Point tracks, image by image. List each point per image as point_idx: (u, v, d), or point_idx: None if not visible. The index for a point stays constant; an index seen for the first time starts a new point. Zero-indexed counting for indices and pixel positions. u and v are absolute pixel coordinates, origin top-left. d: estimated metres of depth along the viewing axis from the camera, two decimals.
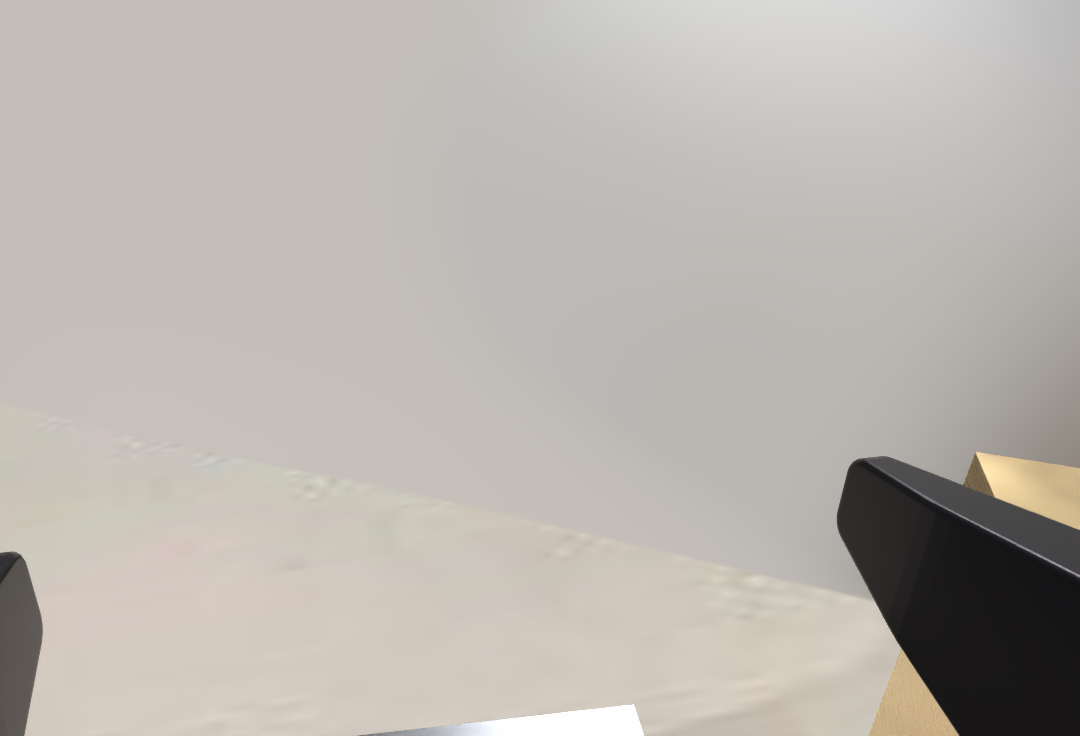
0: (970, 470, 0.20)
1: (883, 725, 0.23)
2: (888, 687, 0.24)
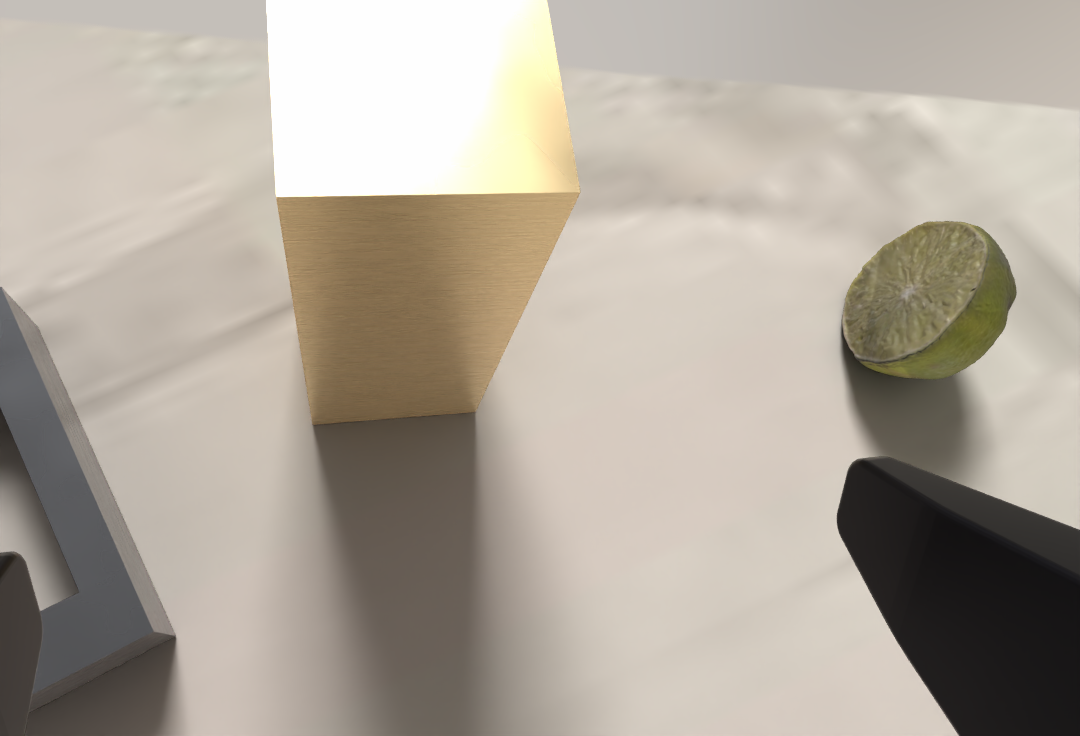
0: None
1: None
2: None
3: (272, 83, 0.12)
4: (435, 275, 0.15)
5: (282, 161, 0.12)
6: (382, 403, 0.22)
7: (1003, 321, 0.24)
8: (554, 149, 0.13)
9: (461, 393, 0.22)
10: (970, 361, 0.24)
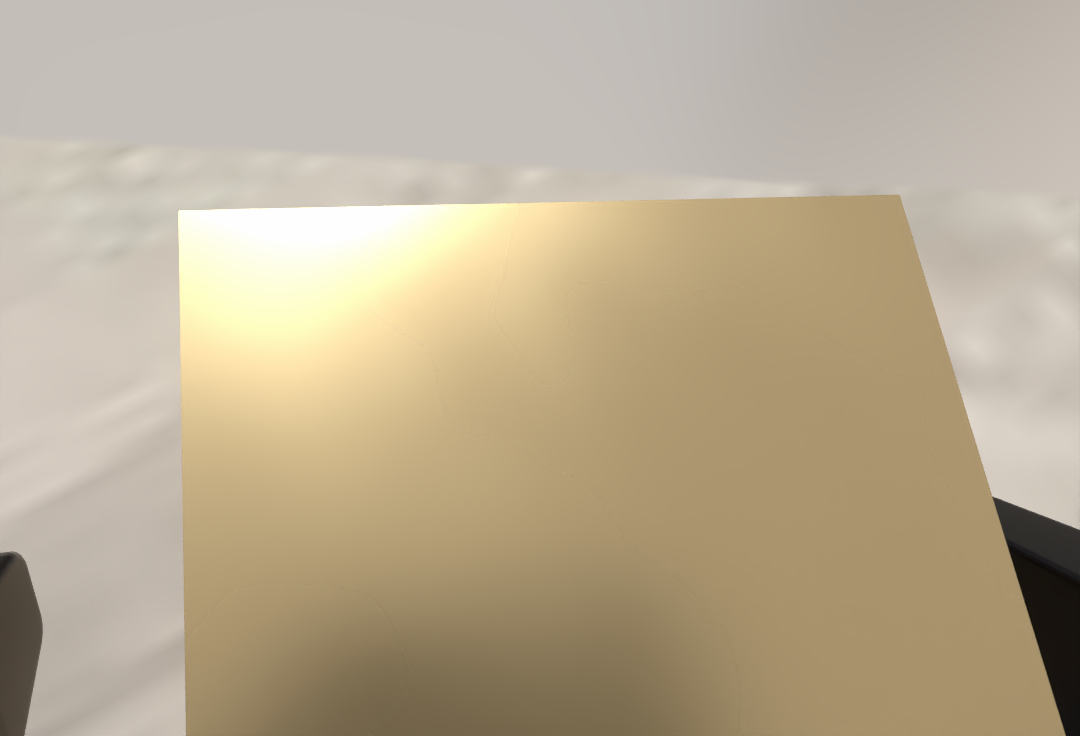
0: None
1: None
2: None
3: (192, 722, 0.04)
4: None
5: None
6: None
7: None
8: None
9: None
10: None
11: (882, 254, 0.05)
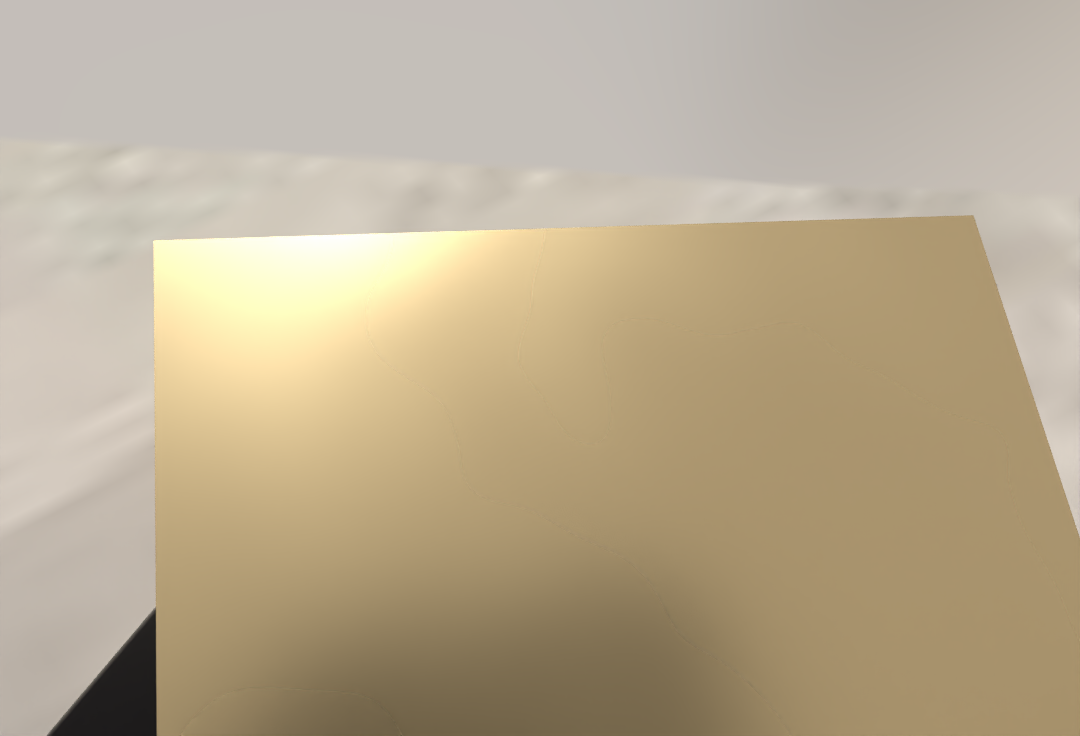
0: None
1: None
2: None
3: None
4: None
5: None
6: None
7: None
8: None
9: None
10: None
11: (956, 284, 0.05)
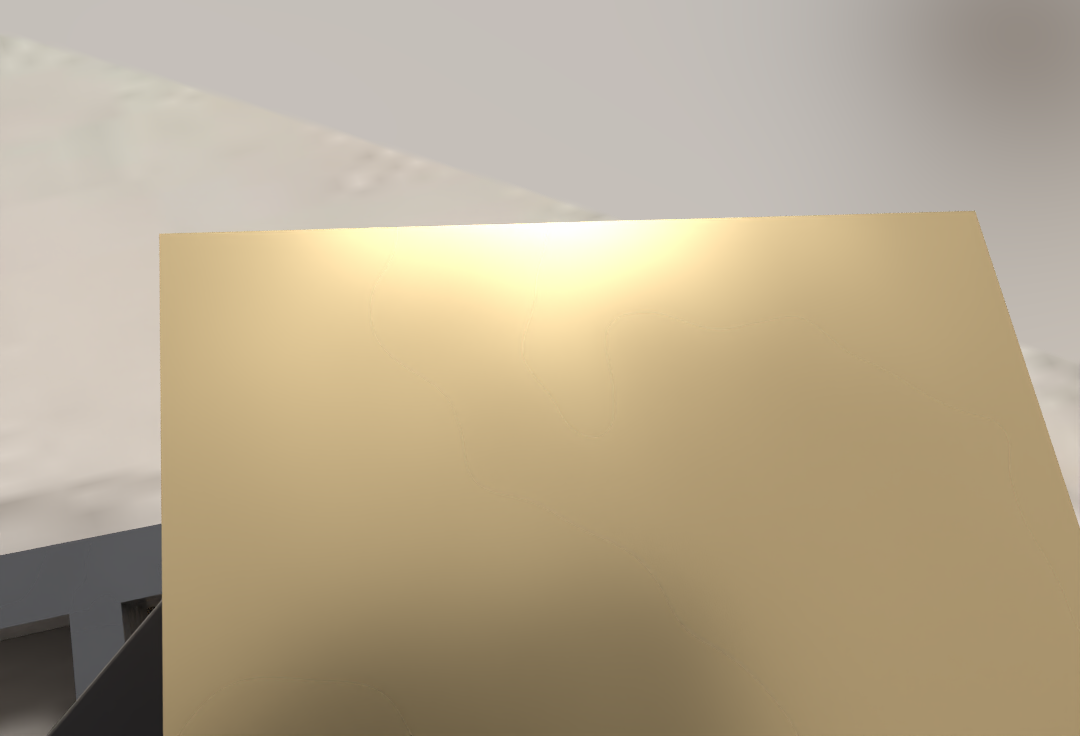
0: None
1: None
2: None
3: None
4: None
5: None
6: None
7: None
8: None
9: None
10: None
11: (958, 279, 0.05)
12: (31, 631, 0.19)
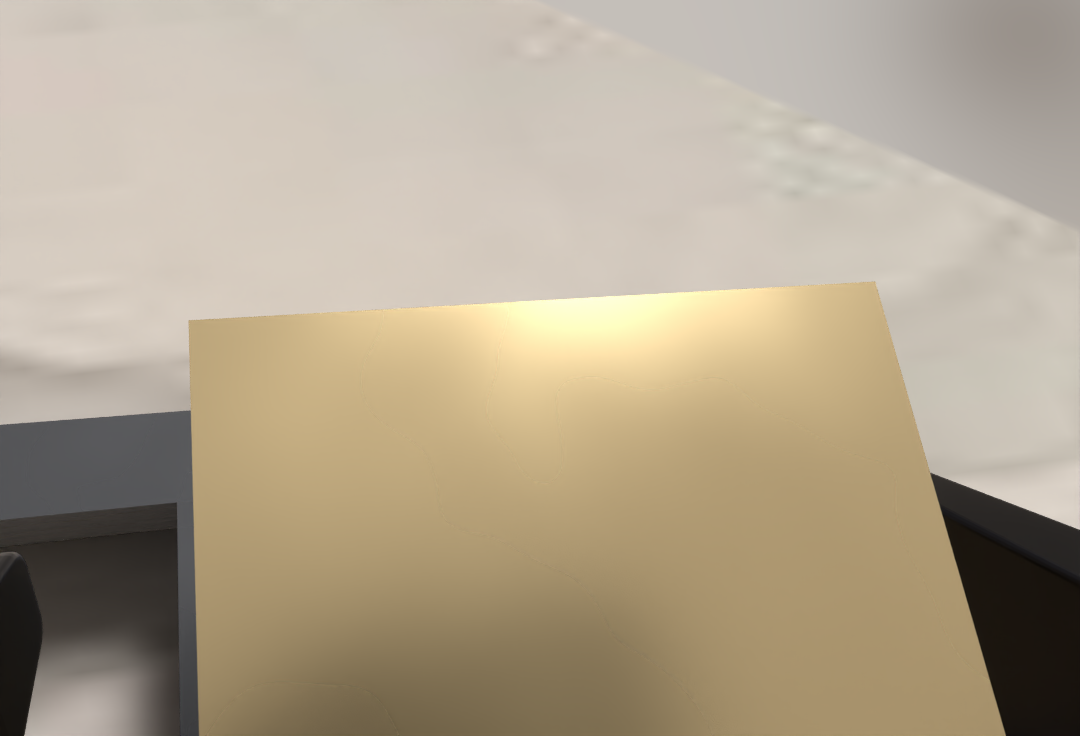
0: None
1: None
2: None
3: None
4: None
5: None
6: None
7: None
8: None
9: None
10: None
11: (858, 342, 0.06)
12: (117, 529, 0.15)
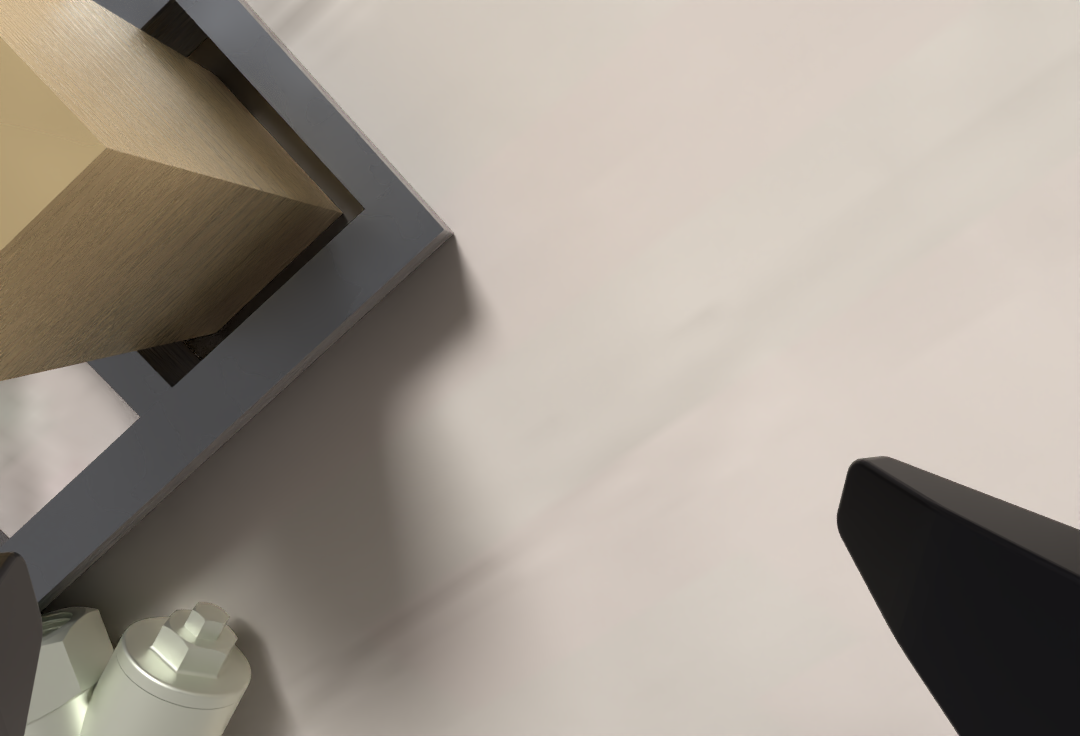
0: None
1: None
2: None
3: None
4: (105, 268, 0.12)
5: None
6: (247, 286, 0.20)
7: None
8: (36, 114, 0.09)
9: (305, 227, 0.19)
10: None
11: None
12: None
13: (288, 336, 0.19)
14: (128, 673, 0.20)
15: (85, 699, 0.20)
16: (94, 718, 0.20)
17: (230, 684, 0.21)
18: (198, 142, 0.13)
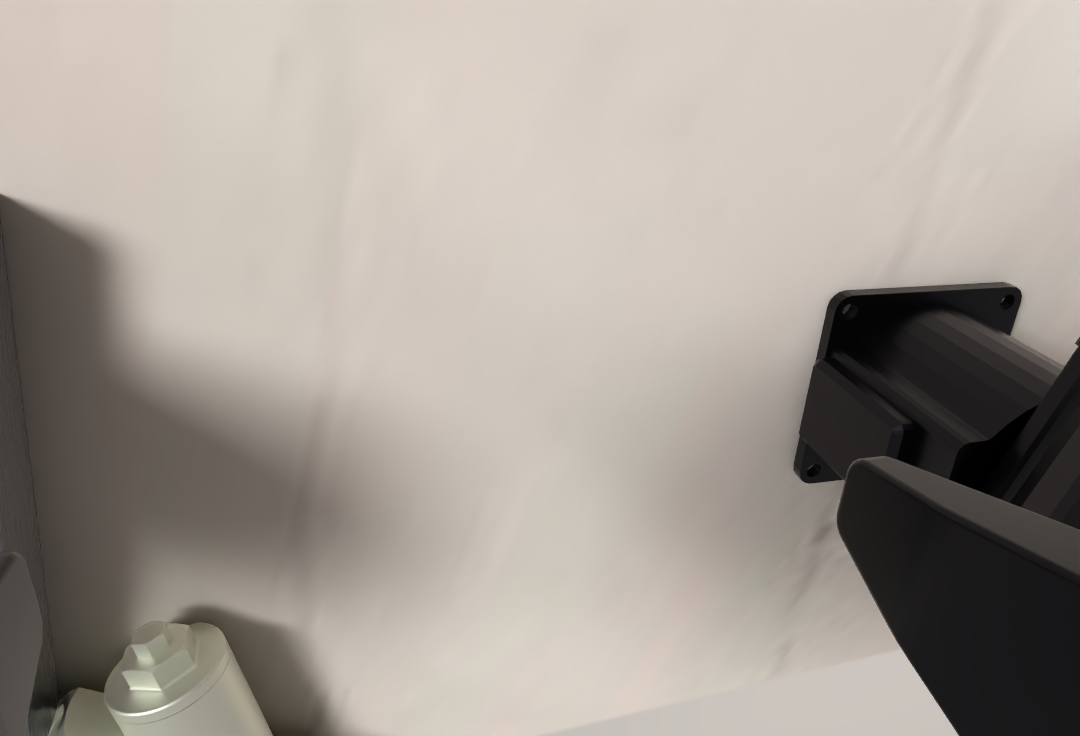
0: None
1: None
2: None
3: None
4: None
5: None
6: None
7: None
8: None
9: None
10: None
11: None
12: None
13: None
14: (129, 720, 0.22)
15: None
16: None
17: (210, 660, 0.23)
18: None
